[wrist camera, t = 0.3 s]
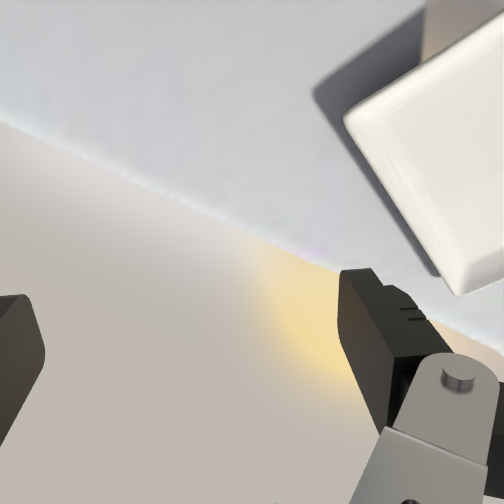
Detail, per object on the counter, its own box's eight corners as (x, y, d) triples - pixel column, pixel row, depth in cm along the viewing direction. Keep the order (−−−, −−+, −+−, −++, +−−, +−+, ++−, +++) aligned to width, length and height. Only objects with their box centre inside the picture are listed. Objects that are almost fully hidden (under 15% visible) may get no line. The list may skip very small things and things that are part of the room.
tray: (446, 282, 57) (456, 303, 55) (331, 101, 39) (339, 119, 37) (585, 220, 51) (604, 240, 48) (524, -29, 33) (549, -19, 30)
